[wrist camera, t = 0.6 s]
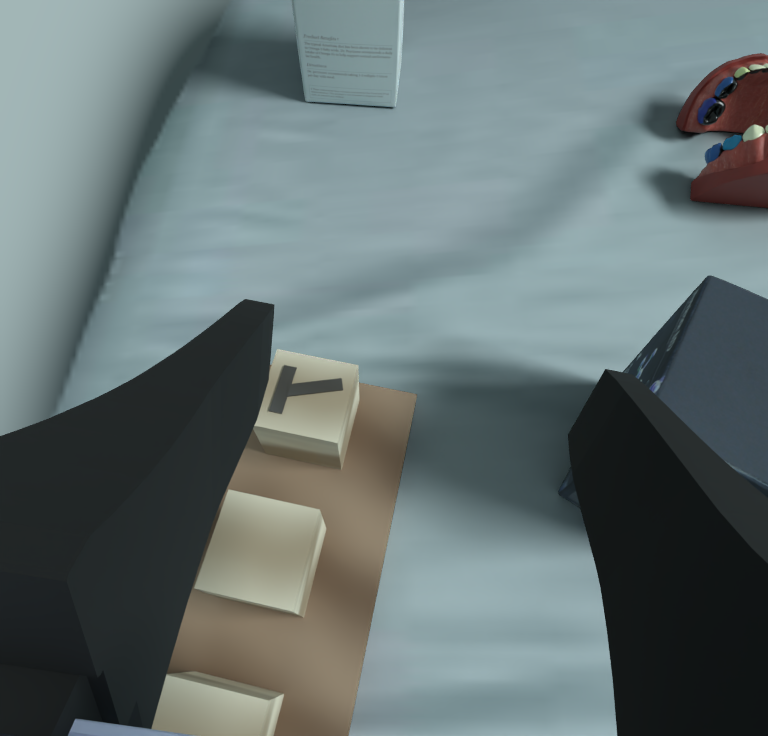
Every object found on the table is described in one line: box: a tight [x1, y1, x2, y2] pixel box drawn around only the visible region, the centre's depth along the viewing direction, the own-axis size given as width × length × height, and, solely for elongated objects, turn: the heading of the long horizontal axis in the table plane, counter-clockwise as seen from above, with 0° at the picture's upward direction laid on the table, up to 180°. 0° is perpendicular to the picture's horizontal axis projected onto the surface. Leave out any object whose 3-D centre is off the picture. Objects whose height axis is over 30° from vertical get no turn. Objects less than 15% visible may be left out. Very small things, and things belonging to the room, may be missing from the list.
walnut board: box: [167, 365, 417, 736], centre depth 26 cm, size 20×10×1 cm, turn 168°
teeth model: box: [676, 53, 768, 208], centre depth 38 cm, size 8×6×12 cm
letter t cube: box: [253, 349, 359, 470], centre depth 27 cm, size 4×4×4 cm
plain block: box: [194, 489, 326, 618], centre depth 24 cm, size 4×4×4 cm
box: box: [559, 276, 768, 507], centre depth 25 cm, size 8×6×11 cm
